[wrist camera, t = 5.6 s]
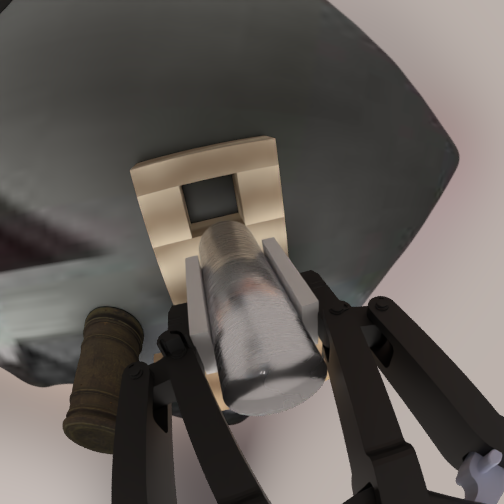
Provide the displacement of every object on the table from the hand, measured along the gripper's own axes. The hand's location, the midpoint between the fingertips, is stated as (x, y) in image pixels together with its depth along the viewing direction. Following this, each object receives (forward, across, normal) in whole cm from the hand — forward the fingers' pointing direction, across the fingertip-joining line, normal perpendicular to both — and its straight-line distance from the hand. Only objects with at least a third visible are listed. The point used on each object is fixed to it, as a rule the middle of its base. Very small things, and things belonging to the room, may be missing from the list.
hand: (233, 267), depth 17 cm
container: (+16, -18, -15) cm, 28 cm away
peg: (+3, 0, 0) cm, 3 cm away
